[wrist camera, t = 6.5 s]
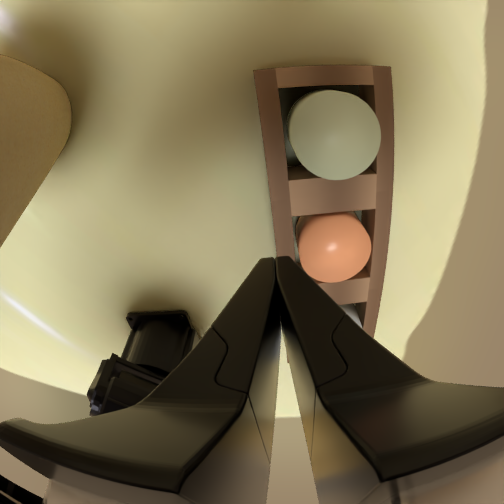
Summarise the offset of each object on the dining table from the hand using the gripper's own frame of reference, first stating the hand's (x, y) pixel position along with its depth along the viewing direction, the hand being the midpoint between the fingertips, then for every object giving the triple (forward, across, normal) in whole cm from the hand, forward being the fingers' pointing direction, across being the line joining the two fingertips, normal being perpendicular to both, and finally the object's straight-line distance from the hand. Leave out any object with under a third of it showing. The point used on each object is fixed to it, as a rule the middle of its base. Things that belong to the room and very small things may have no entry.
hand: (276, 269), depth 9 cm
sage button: (+12, -4, -2) cm, 12 cm away
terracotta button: (+13, -4, +6) cm, 15 cm away
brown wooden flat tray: (+13, -4, +6) cm, 15 cm away
